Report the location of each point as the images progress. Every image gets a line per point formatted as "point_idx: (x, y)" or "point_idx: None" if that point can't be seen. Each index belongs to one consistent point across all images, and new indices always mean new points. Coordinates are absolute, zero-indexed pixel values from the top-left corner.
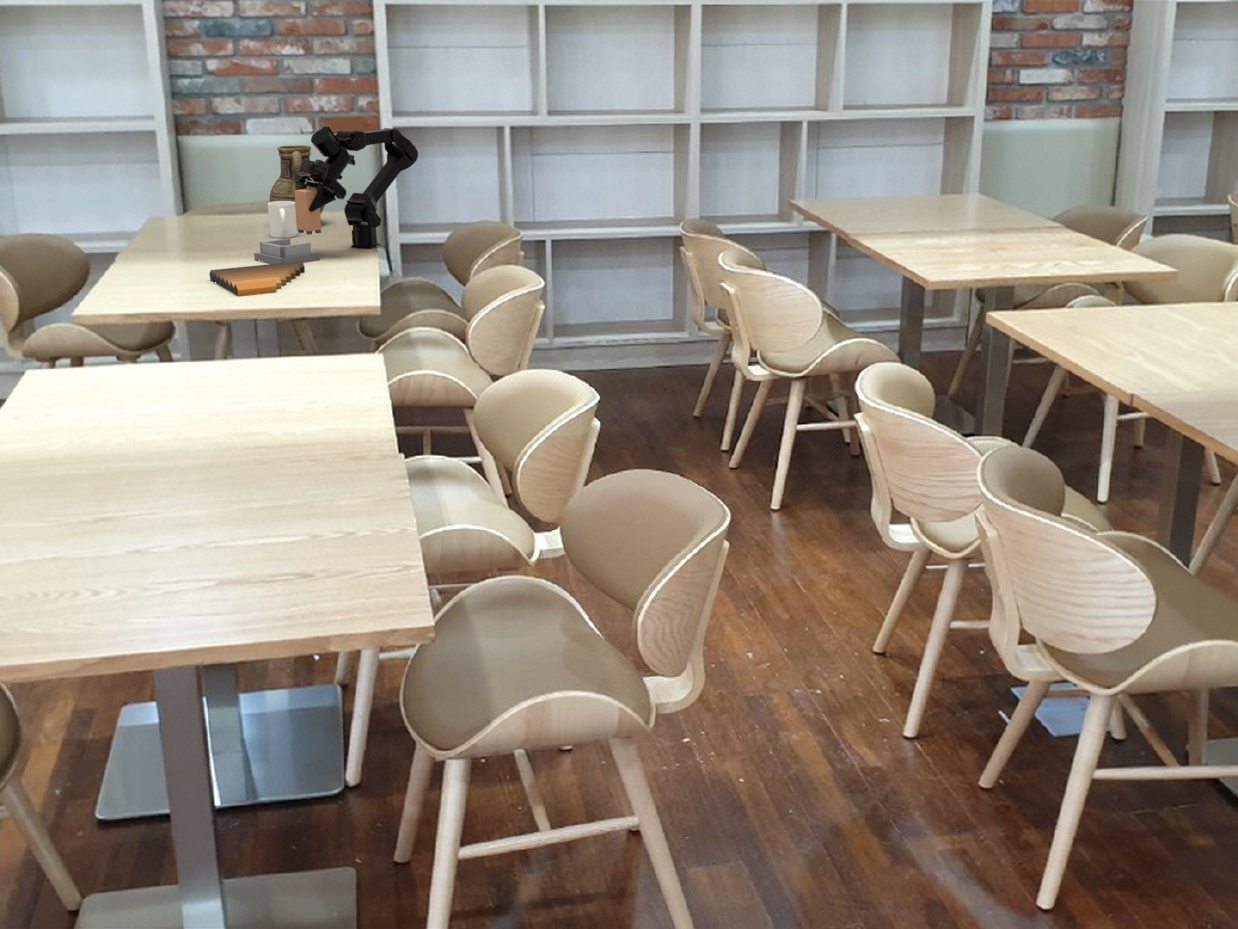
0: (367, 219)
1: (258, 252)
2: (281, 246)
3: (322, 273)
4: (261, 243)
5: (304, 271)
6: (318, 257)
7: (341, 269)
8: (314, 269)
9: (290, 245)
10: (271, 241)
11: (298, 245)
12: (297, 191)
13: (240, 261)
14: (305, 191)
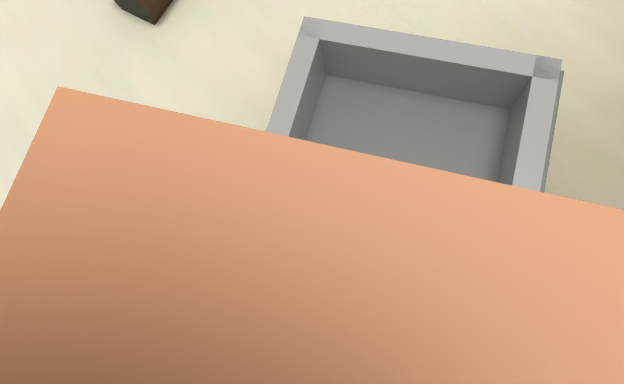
0: None
1: (556, 96)
2: (318, 28)
3: (38, 27)
4: (538, 59)
5: (120, 6)
6: None
7: (4, 130)
8: (115, 70)
9: (291, 78)
10: (522, 126)
11: (269, 128)
12: (469, 185)
13: (580, 30)
14: (147, 202)
